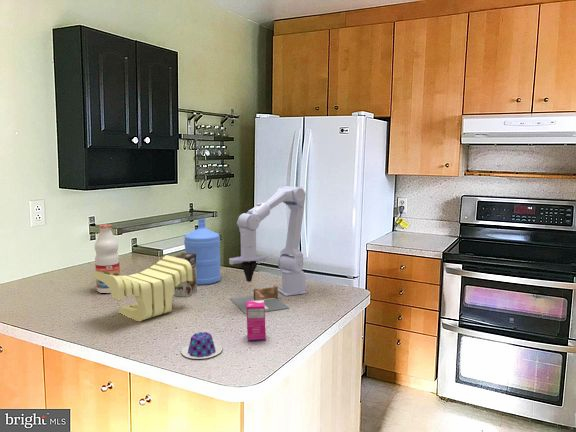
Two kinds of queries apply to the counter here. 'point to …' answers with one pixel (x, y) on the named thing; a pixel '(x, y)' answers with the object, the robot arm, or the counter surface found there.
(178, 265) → the slatted curved stool
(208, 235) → the water jug
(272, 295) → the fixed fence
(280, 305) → the card
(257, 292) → the swing panel
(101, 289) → the fruit juice
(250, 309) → the supplement box
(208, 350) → the pudding
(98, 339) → the counter surface
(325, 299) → the counter surface
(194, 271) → the coffee box
